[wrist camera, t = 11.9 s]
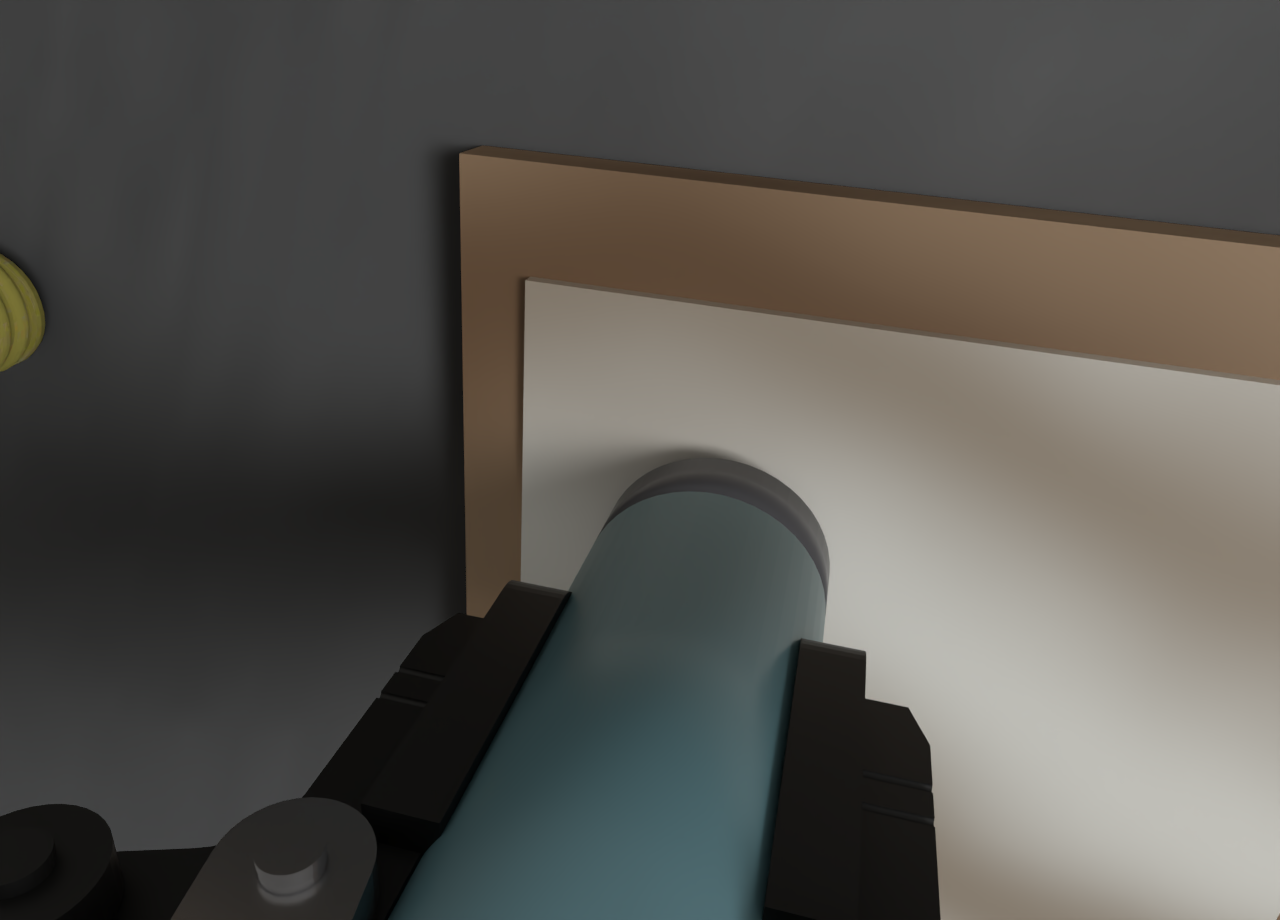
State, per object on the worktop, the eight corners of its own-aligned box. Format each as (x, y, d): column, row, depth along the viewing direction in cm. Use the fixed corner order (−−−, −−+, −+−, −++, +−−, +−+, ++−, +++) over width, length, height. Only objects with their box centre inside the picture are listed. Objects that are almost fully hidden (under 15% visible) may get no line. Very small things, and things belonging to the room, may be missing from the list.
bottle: (708, 695, 14) (324, 2167, 4) (550, 540, 14) (-268, 1832, 4) (889, 583, 13) (906, 2459, 3) (721, 402, 12) (54, 1981, 2)
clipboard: (1122, 1223, 19) (1141, 1318, 18) (487, 1036, 22) (459, 1107, 20) (1672, 280, 10) (1796, 322, 9) (482, 145, 13) (433, 162, 11)
